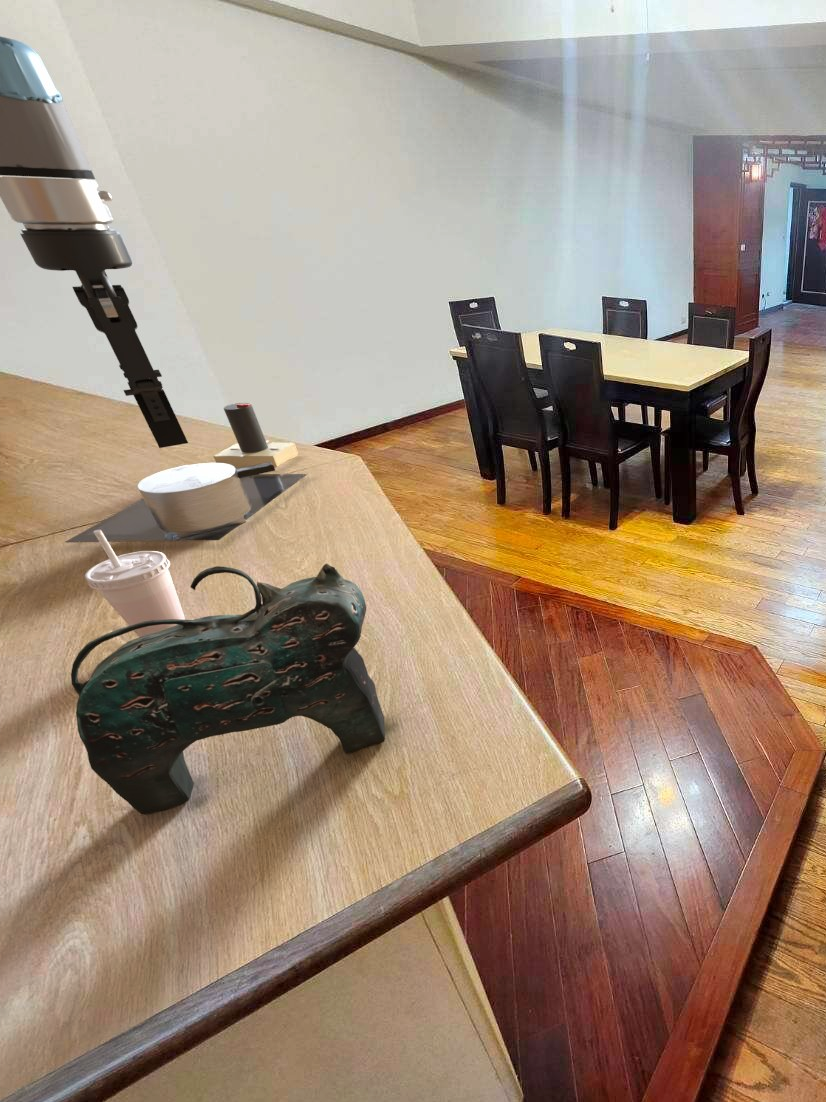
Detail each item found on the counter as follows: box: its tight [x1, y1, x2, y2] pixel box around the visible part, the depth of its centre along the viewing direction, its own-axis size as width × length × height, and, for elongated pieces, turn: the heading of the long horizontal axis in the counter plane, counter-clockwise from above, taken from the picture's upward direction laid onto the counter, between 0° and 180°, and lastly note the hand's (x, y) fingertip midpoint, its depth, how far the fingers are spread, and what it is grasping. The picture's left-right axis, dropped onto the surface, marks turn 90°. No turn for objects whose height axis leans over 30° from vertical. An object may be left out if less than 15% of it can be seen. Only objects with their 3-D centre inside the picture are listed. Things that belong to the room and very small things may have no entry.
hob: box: [65, 473, 308, 543], centre depth 93 cm, size 20×24×1 cm
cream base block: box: [213, 440, 299, 469], centre depth 109 cm, size 10×8×3 cm
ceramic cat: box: [70, 563, 386, 815], centre depth 47 cm, size 20×6×20 cm, turn 118°
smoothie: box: [84, 530, 186, 638], centre depth 63 cm, size 6×6×14 cm
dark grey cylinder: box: [223, 402, 268, 453], centre depth 106 cm, size 4×4×8 cm
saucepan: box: [136, 462, 276, 538], centre depth 88 cm, size 16×11×7 cm
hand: (170, 437), depth 74 cm, fingers open, 5 cm apart
